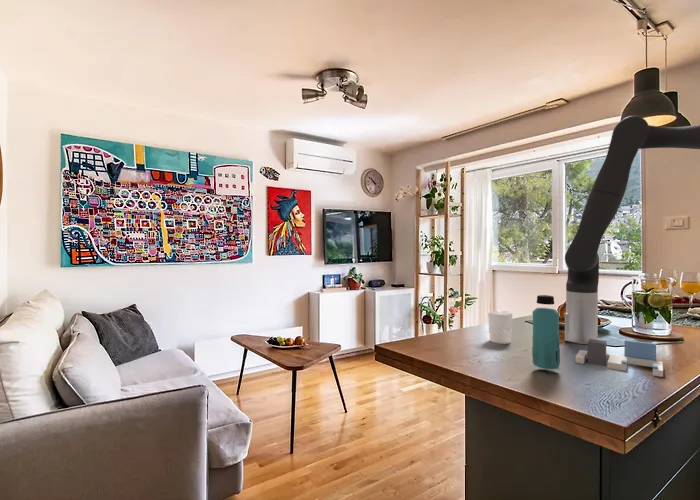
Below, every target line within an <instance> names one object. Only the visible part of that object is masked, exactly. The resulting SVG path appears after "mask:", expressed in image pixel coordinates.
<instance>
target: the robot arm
mask: <svg viewBox="0 0 700 500" xmlns="http://www.w3.org/2000/svg"><path fill="white" fill-rule="evenodd" d="M608 146H609V147H608V150H607V152H606V156H605V159H604V162H603V163H602V166H601V167H600V170H599V171H598V174H597V175H596V179H595V181H594V182H593V185H592V187H591V189H590V192H589V194H588V198H587V200H586V203H585V206H584V209H583V211H582V215H581V219H580V223H579V226H578V228H577V230H576V233H575V235H574V237H573V239H572V241H571V243H570V245H569V247H568V249H567V250H566V252H565V255H564V261H565V265H566V266H567V280H566V283H565V284H566V285H565V313H564V341H566V342H570V343H574V344H581V345H588V341H589V339H594V340H599V338H598V337H599V334H598V327H599V324H598V323H599V322H598V319H599V318H598V317H599V316H598V314H599V312H598V311H599V310H598V309H599V305H598V300H599V299H598V296H599V292H598V290H599V282H600V281H599V279H600V277H599V276H600V274H599V273H600V271H599V270H600V258H599V254H598V251H599V248H600V244H601V241H602V238H603V237H604V234H605V232H606V231H607V229H608V227H609V226H610V224H611V222H612V221H613V219H614V218H615V216H616V214H617V212H618V211H619V208H620V206H621V204H622V201H623V199H624V197H625V193H626V191H627V187H628V183H629V178H630V172H631V168H632V165H633V162H634V160H635V157H636V156H637V154H638V151H639V150H644V149H664V148H665V149H667V148H668V149H689V150H691V149H692V150H700V124H695V125H686V126H671V127H670V126H667V127H665V126H658V125H657V126H655V125H650V124H649V123H648V122H647V120H646V119H645V118H643V117H641V116H639V115H629V116H627V117H626V116H625V117H624V118H622V119H621V120H620V121H618V123H617V124H616V125H615V127H614V129H613V131H612V134H611V138H610V142H609V145H608Z"/></svg>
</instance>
